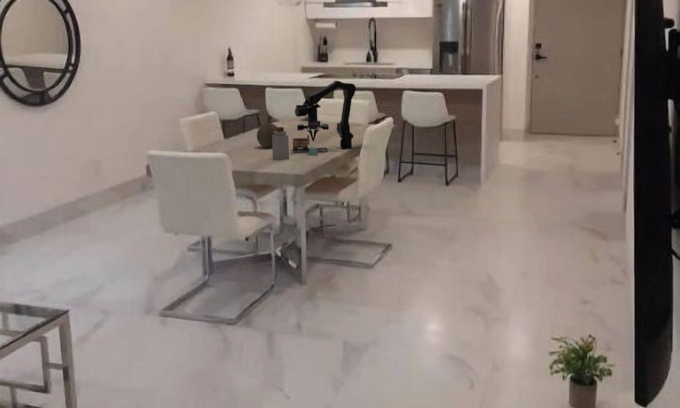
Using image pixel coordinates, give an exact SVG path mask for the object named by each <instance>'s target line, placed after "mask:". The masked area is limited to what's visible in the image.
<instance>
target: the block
mask: <svg viewBox="0 0 680 408" xmlns="http://www.w3.org/2000/svg"><path fill="white" fill-rule="evenodd" d="M308 148H309V152H310V153H309V152H308V153H309V156H315V157H316V156H318V152H317V148H318V146H308Z"/></svg>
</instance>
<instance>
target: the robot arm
mask: <svg viewBox="0 0 680 408" xmlns="http://www.w3.org/2000/svg"><path fill="white" fill-rule="evenodd" d="M356 87H357V86H356V85H355V84H354V83H350V82H342V81H340V80H334V81H333V82H332V83H330V84H328V85H327V86H325V87H323V88H322V89H319V90H317V91H314V92H312V93H309V94H307V95H306V97H305V101H304V102H303V104H296V105H295V106H296V107H295V108H294V114H295V115H294V116H296V118H297V117H307V125H304V124H297V126H296V128H297V131H303V130H306V132H308V133H309V136H310V138H311V140H312V142H315V140H316V139H315V138H316V135H317V133H318V132H319V131H320V129H322V130H323V131H324V130H326V131H328V130H329V128H330V127H329V124H328V123H322V124H321V120H318V108H321V105H320V104H319V102H320V101H321V100H322V99H323V98H324V97H325V96H328V94H330V93H332V92H334V91H335V90H337V89H340V90H342V93H343V104H342V111H341V118H340V119H341V120H340V122H337V123H336V129H335V130H336V132H337V134H338V135H339V138H341V139H340V140H339V143H340V149H353V146H352V145H353V143H352V141H353V140H352V139H353V138H354V134H353V133H352V132H351V130H350V129H351V126H350V121H349V120H350V115H351V108H352V99H353V97H354V96H355V95H356V90H357V88H356Z"/></svg>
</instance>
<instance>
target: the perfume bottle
mask: <svg viewBox="0 0 680 408" xmlns="http://www.w3.org/2000/svg"><path fill="white" fill-rule="evenodd" d="M284 129H285V128H284V127H283V126H277V127H276V131H274V134H275V135H272V147H271V148H272V159H274V160H277V161H281V160H283V161H284V160H288V159H289V158H290V147H289V146H290V145H289V135H288V134H287V131H286V130H284Z"/></svg>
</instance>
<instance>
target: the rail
mask: <svg viewBox="0 0 680 408" xmlns="http://www.w3.org/2000/svg"><path fill="white" fill-rule="evenodd" d="M328 152H329V150H328V147H317V153H328ZM292 153H295V154H301V153H308V154H310V152H309V147H308V149H307V150H304V149H303V148H298V149H297V150H296V151H295V150H292Z"/></svg>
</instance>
